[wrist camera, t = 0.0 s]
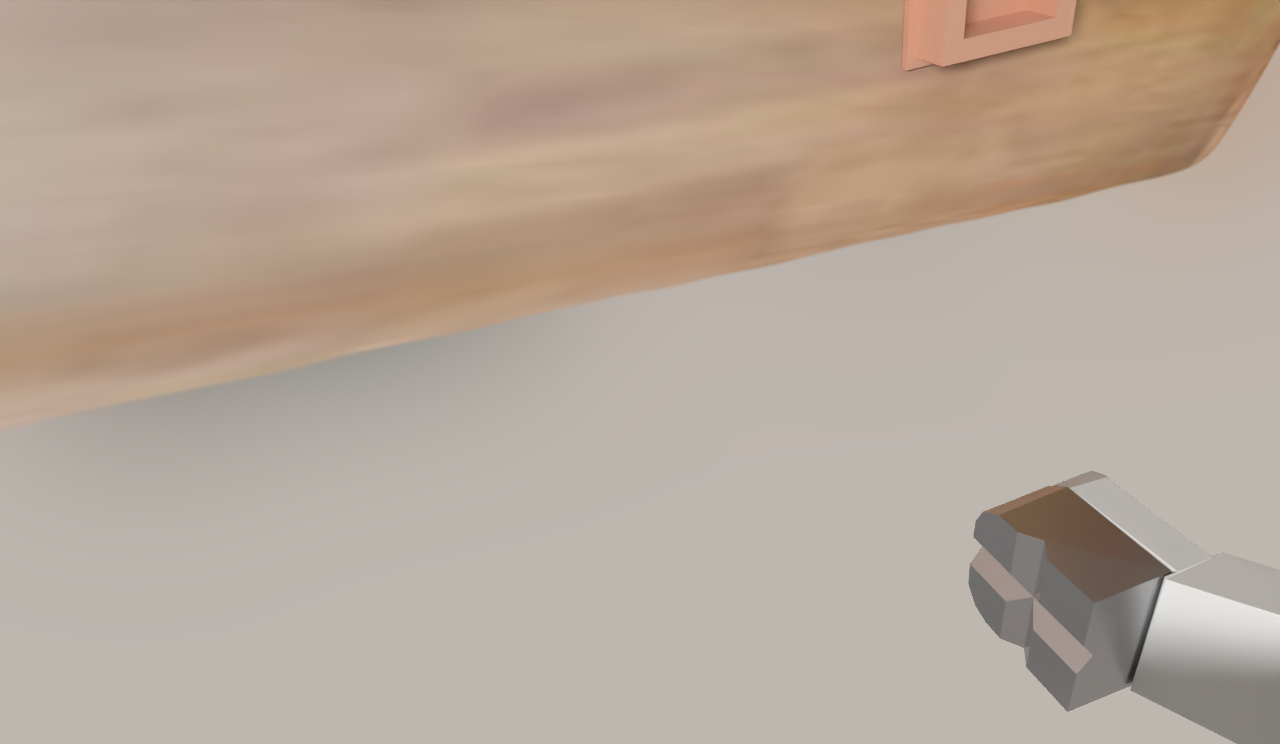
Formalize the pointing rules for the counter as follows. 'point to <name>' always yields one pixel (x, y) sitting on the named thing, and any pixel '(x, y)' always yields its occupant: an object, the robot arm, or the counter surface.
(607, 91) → the counter surface
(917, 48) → the terracotta holder
